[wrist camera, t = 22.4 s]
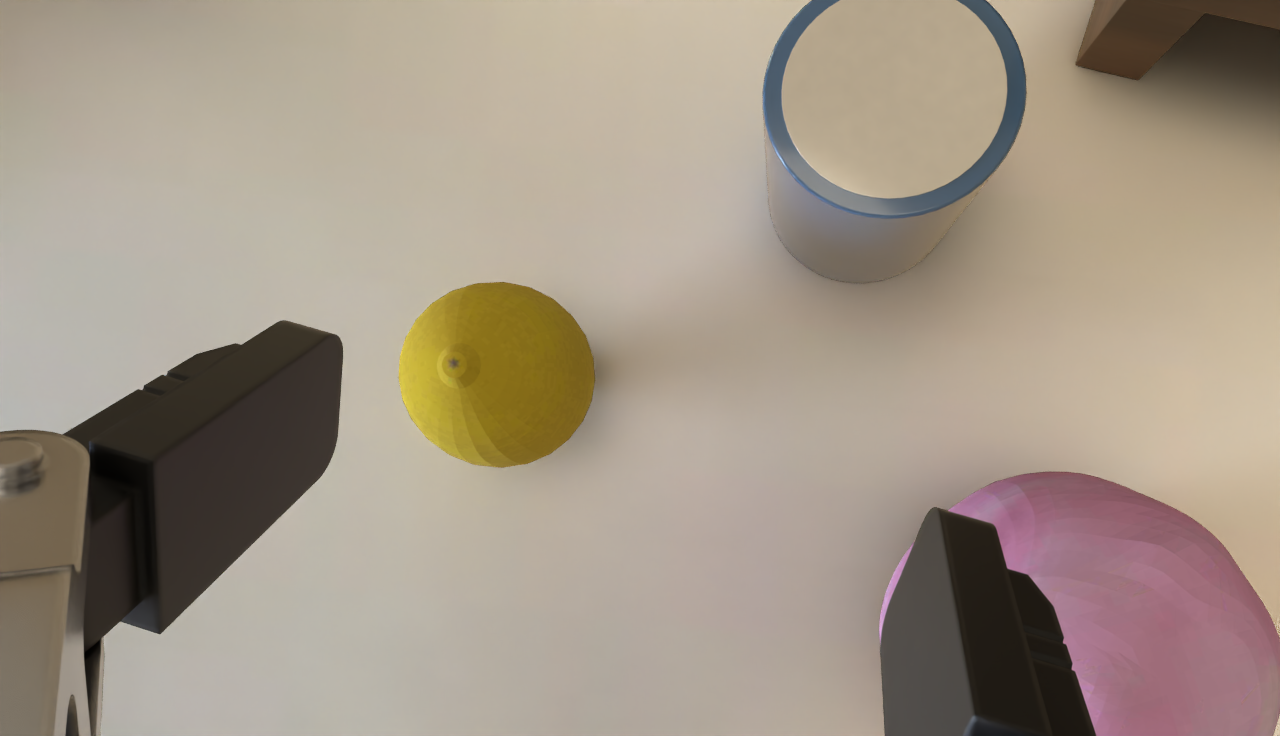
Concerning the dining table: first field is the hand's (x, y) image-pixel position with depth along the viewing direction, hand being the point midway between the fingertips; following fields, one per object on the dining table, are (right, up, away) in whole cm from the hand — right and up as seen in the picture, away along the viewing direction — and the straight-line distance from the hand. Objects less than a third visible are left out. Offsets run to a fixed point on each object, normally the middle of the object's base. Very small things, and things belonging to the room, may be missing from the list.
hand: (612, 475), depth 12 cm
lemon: (-3, +1, +19) cm, 20 cm away
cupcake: (+12, -6, +16) cm, 21 cm away
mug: (+8, +8, +18) cm, 21 cm away
